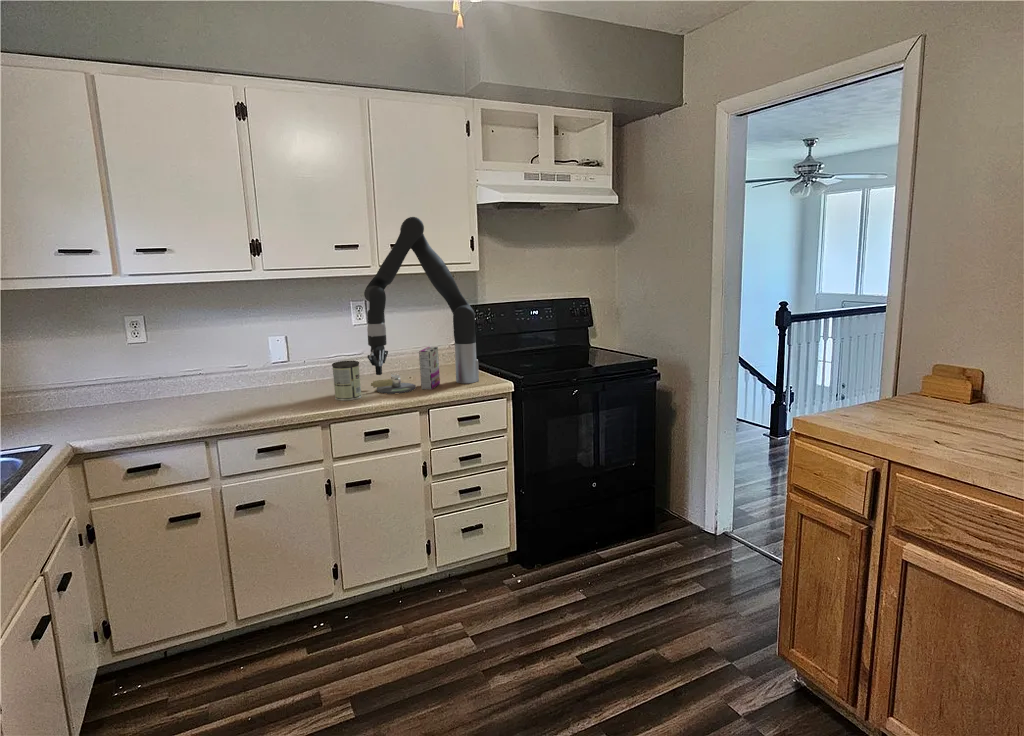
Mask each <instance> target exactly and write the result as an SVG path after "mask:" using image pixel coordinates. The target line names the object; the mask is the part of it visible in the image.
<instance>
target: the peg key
mask: <svg viewBox="0 0 1024 736" xmlns="http://www.w3.org/2000/svg"><path fill="white" fill-rule="evenodd" d="M401 380H402V378H401V374H399V373H398V372H394V373H390V378H389V379H388V378H386V379H378V380H377V379H376V380H372V382H370V387H373V388H375V389H377V387H384V386H391V387H393V388H397V387H401V383H402V381H401Z"/></svg>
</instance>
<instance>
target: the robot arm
mask: <svg viewBox="0 0 1024 736" xmlns="http://www.w3.org/2000/svg"><path fill="white" fill-rule="evenodd" d="M399 231H400V232H399V234H398V238H396V241H395V243H394V245H393V247H392V248H391V249H390V251H389V252H388V254H387V255H386V257H385V258H384V260H383V261H382V263H381V265H380V267H379V268H378V270H377V273H376V274H375V276H373V278H372V279H371V280H370V282H369V283H368V284H367V286H366V287H365V290H364V292H363V296H364V299H365V300H366V301H367V302H368V303H369V306H368V307H369V309H368V310H367V312H366V313H367V314H366V317H367V319H366V321H367V329H366V330H367V345H368V346H369V347H370V354H367V359H368V361H369V363H370V364H371V366H374V368H375V375H376V376H381V375H383V365H384V364H385V363H386V360H387V357H388V355H389V351H388V350H385V348H386V347H385V346H386V345H387V344H388V343H387V327H386V317H385V316H386V315H385V311H386V303H387V297H386V296H387V295H386V292H385V290H386V288H387V287H388V286H389V285H391V284H392V282H393V281H394V279H395V278H396V276H397V274H398V272H399V271H400V269H401V267H402V265H403V263H404V260H405V259H406V257H407V255H408V254H409V252H410V250H412V252H413V253H414V255H415V256H416V258H417V260H418V262H419V264H420V265H421V267H422V269H423V271H424V273H425V274H426V277H427V278H428V280H429V282H430V283H431V284H432V286H433V287H434V288H435V290H436V291H437V292H438V293H439V294H440V296H441V297H442V298H443V299H444V300H445V302H446V303H447V305H448V307H449V309H450V311H451V312H452V313H451V314H452V323H453V324H452V327H453V329H452V330H453V341H454V361H455V381H456V382H455V383H458V384H473V383H476V382H480V376H479V375H480V374H479V359H477V343H476V342H477V337H476V313H475V310H474V309H473V308H472V306H471V305H470V303H468V301H467V300H466V298H465V297H464V296H463V295H462V293H461V290H460V289H459V286H458V285H457V283H456V280H455V278H454V277H453V275H452V272H451V271H450V270H449V268H448V266H447V265H446V263H445V261H444V259H442V257H440V255H439V254H437V252H436V251H435V249H433V248H432V246H431V245H430V244H429V242H428V240H427V238H426V237H425V234H424V232H425V226H424V223H423V221H422V220H421V219H420V218H419V217H416V216H409V217H407V218H406V219H405V220H403V222H402V223H401V226H400V229H399Z"/></svg>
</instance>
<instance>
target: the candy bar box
mask: <svg viewBox="0 0 1024 736" xmlns="http://www.w3.org/2000/svg"><path fill="white" fill-rule="evenodd" d="M418 356H419V357H418V358H419V360H418V361H419V372H420V386H421V390H426V389H427V390H428V391H429V390H434V389H435V388H436V387H437V386H439V385H440V384H441V378H440V376H441V375H440V362H439V361H440V360H439V347H438V346H426V347H425V348H423V349H421V350H419V351H418Z"/></svg>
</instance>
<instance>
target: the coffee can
mask: <svg viewBox="0 0 1024 736" xmlns="http://www.w3.org/2000/svg"><path fill="white" fill-rule="evenodd" d="M331 366H332V375H333V378H332V379H333V387H334V399H335V400H336V401H339V402H341V401H342V402H343V401H344V402H345V401H348V402H349V401H354V400H357V399H361V398H362V388H361V374H360V361H357V360H342V361H335V362H334V363H332V364H331Z"/></svg>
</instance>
